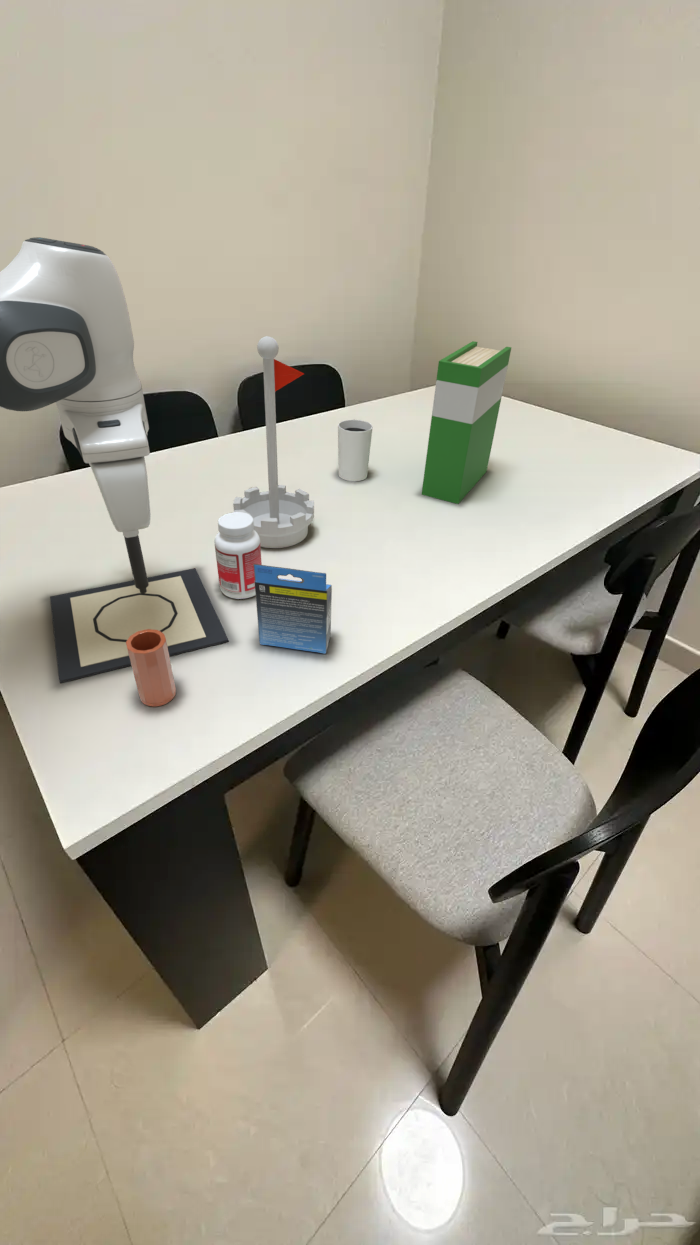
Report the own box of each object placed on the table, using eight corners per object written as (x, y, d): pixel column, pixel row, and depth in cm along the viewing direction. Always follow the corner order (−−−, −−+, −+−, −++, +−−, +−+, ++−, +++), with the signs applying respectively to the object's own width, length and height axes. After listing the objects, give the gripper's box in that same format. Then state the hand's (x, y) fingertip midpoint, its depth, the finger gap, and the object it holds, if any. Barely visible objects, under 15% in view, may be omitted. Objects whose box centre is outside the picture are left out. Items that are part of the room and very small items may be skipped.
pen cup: (143, 710, 65) (129, 657, 60) (137, 687, 67) (123, 634, 62) (179, 700, 66) (168, 647, 61) (172, 678, 69) (161, 625, 64)
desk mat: (60, 683, 67) (58, 679, 67) (50, 598, 80) (49, 595, 80) (228, 641, 75) (228, 638, 74) (195, 570, 87) (195, 567, 87)
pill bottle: (260, 574, 87) (256, 507, 80) (265, 598, 82) (261, 529, 75) (218, 578, 86) (211, 510, 79) (220, 602, 81) (212, 532, 74)
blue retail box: (331, 636, 76) (334, 556, 69) (326, 655, 73) (328, 573, 66) (266, 626, 77) (261, 546, 70) (257, 645, 74) (252, 563, 67)
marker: (137, 596, 77) (115, 499, 68) (135, 589, 78) (113, 493, 69) (151, 593, 77) (130, 497, 69) (148, 587, 78) (128, 491, 70)
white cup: (354, 485, 113) (357, 434, 107) (329, 474, 116) (330, 425, 110) (376, 475, 117) (379, 426, 111) (351, 465, 120) (353, 417, 114)
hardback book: (453, 463, 123) (472, 341, 109) (486, 471, 121) (511, 347, 106) (421, 494, 111) (438, 361, 96) (458, 504, 108) (481, 368, 94)
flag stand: (246, 556, 91) (230, 350, 72) (228, 518, 100) (210, 327, 81) (324, 544, 95) (329, 346, 76) (300, 508, 104) (298, 324, 86)
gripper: (65, 390, 69) (92, 496, 78) (82, 454, 55) (113, 576, 63) (120, 385, 71) (141, 489, 80) (150, 446, 57) (171, 564, 66)
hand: (129, 528), depth 72 cm, fingers closed on marker, 2 cm apart
